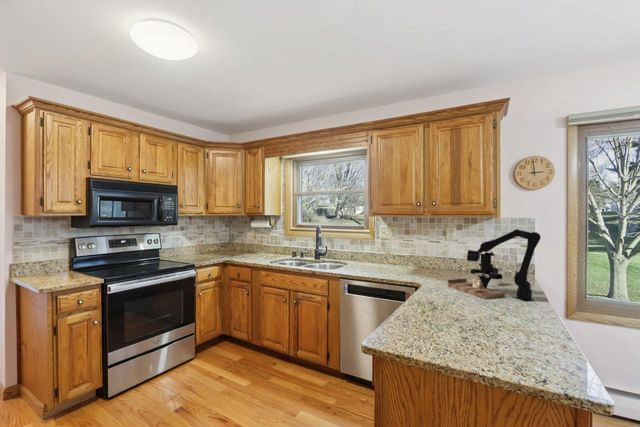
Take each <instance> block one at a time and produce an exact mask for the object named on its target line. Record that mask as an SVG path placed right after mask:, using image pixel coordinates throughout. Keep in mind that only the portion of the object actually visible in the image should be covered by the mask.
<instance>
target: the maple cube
mask: <svg viewBox="0 0 640 427" xmlns="http://www.w3.org/2000/svg"><path fill="white" fill-rule="evenodd" d="M472 284H473V287H475V288H478V289H483V288H485V287H484V285H483V283H482V281H481V280H480V278H473V279H472Z"/></svg>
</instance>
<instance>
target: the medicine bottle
mask: <svg viewBox="0 0 640 427" xmlns="http://www.w3.org/2000/svg"><path fill="white" fill-rule="evenodd" d="M487 287H500V279H491V280H490V281H489V283H488V286H487Z"/></svg>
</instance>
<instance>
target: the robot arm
mask: <svg viewBox="0 0 640 427" xmlns="http://www.w3.org/2000/svg"><path fill="white" fill-rule="evenodd" d="M517 237H518V238H522V239H526V240H527V243H526V248H525V249H526V250H525V253H524V257H523V259H522V263H521V266H520V268H519V271H518V270H516V271H515V272H514V273H515V275H514V277H513V278H512V280H514V281H513V282H514V284H515V285H516V286H518V287H517V290H516V296H515V299H518V300H520V301H524V302H528V301H529V302H530V301H534V300H535V299H533V290H532V289H531V287H532V284H531V283H530V282H529V281H528V273H529V272H528V271H529V267H530V265H531V262H532V258H533V255H534V252H535V249H536V248H537V246H538V244H539V242H540V241H541V234H540V233H538V232H537V231H532V232H529V231H525V230H521V229H518V228H517V229H514V230H513V231H510V232H508V233H506V234H504V235H502V236H500V237H497V238H495V239H491V240H488V241H484V242H482V243H481V244H480V246H479V249H477V250H472V249H468V250H467V255H466V260H467V261H468V262H475V263H477V262H478V261H480V263H479V264H478V266H480V268H471V269H470V274H472V275H475V274H478V275H477V277H478V279H480V280H481V281H482V283H483V285H484V287H485V288H488V287H489V286H488V283H489V281H490V280H491V279H499V280H503V274H502V273H499V272H500V269H499V268H497V267H494V264H492V257H495V256H496V254H495V253H494V252H493V251H491V250H493V249H494V248H495V247H497V246H499V245H501V244H503V243H505V242H507V241H510V240H512V239H515V238H517ZM489 251H491V252H489Z"/></svg>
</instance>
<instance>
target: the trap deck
mask: <svg viewBox="0 0 640 427" xmlns="http://www.w3.org/2000/svg"><path fill="white" fill-rule="evenodd" d="M447 287H449V288H451V289H454V290H456V291H459V292H463V293H465V294H468V295H471V296H474V297H476V298H480V299H482V300H493V299H500V298H506V297H505V296H506V295H505V294H506V293H505V292H502V291H499V290H495V289H492V288H489V287H487V288H483V289H478V288H475V287H473V282H469V281H468V278H456V279H455V278H454V279H447Z"/></svg>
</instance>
